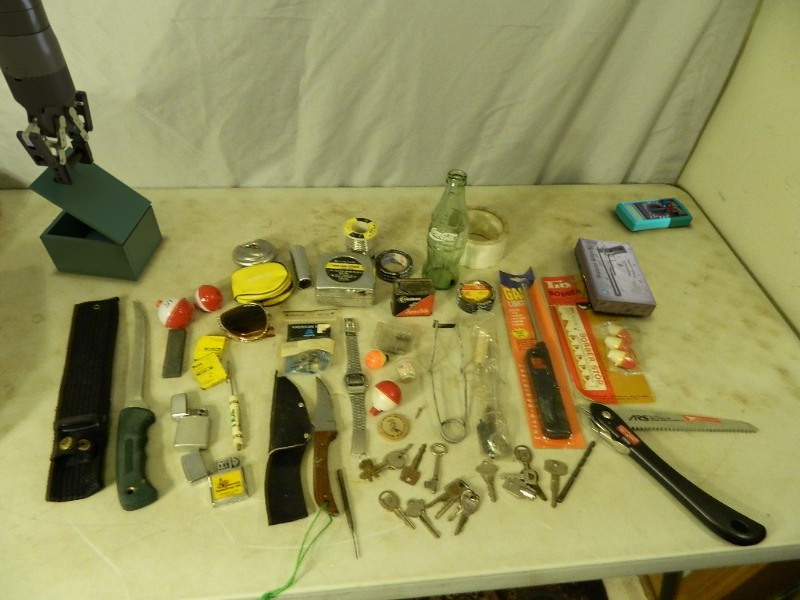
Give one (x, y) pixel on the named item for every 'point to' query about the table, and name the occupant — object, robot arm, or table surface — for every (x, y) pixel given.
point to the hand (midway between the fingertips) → (77, 172)
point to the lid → (94, 197)
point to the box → (614, 278)
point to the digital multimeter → (653, 214)
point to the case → (101, 247)
